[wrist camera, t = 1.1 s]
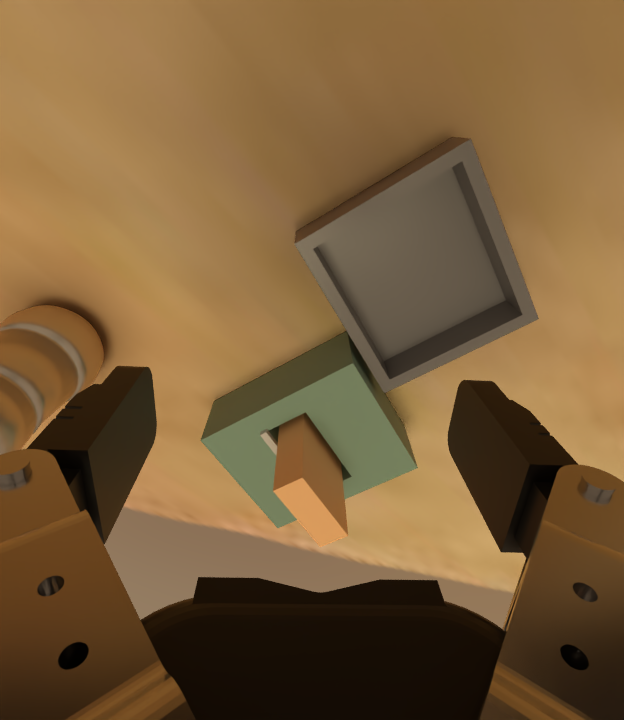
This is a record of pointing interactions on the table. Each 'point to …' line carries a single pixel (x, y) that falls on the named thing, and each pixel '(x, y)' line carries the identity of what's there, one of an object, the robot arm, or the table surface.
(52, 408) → the plastic bottle
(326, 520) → the tan wooden plank
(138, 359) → the table surface
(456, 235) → the tray
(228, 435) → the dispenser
